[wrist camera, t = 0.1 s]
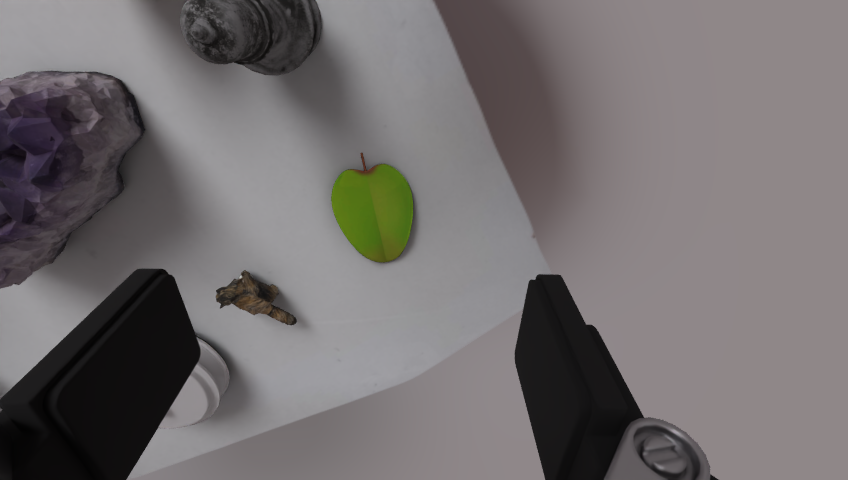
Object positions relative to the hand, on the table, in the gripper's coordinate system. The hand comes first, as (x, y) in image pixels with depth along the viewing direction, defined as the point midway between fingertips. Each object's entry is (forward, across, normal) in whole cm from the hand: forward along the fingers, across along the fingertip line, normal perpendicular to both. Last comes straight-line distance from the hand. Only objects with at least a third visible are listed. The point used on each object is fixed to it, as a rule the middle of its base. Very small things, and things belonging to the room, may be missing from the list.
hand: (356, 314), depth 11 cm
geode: (+22, +28, +4) cm, 36 cm away
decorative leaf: (+22, +2, +8) cm, 24 cm away
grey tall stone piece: (+22, +8, -6) cm, 25 cm away
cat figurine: (+22, +13, +17) cm, 31 cm away
